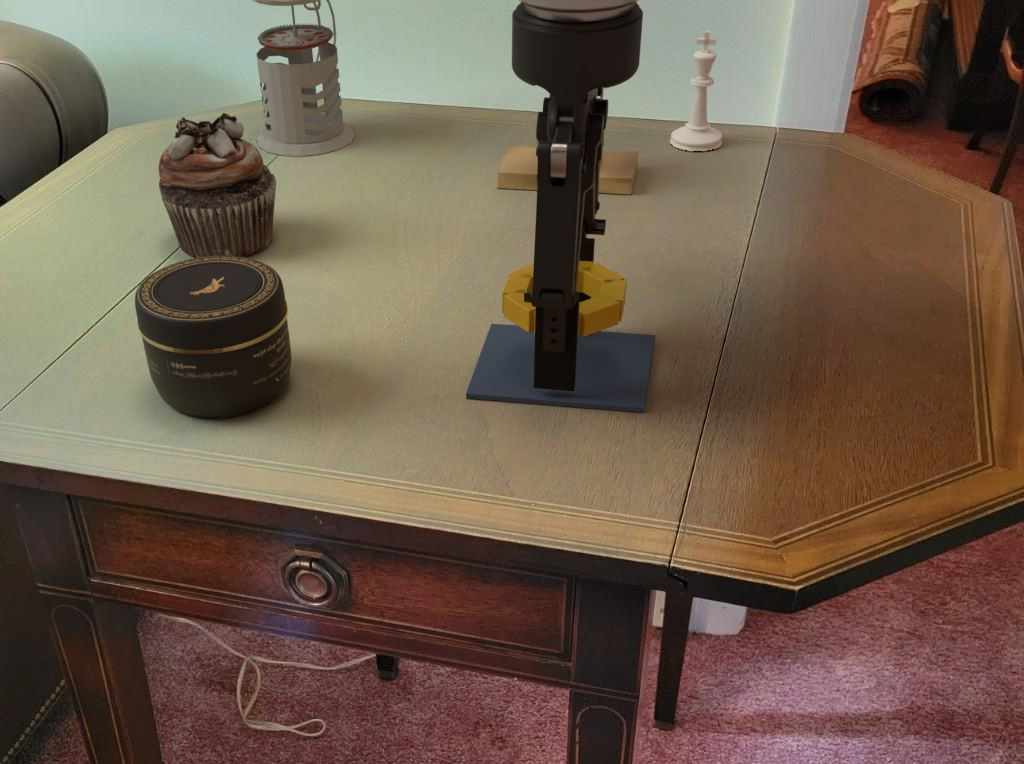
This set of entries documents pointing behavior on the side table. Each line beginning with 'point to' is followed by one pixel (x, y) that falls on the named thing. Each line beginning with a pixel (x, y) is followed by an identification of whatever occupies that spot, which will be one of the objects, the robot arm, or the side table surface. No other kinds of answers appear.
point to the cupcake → (217, 190)
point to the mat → (599, 370)
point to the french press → (300, 88)
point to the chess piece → (699, 106)
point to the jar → (215, 335)
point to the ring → (591, 281)
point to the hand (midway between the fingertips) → (562, 354)
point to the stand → (524, 164)
